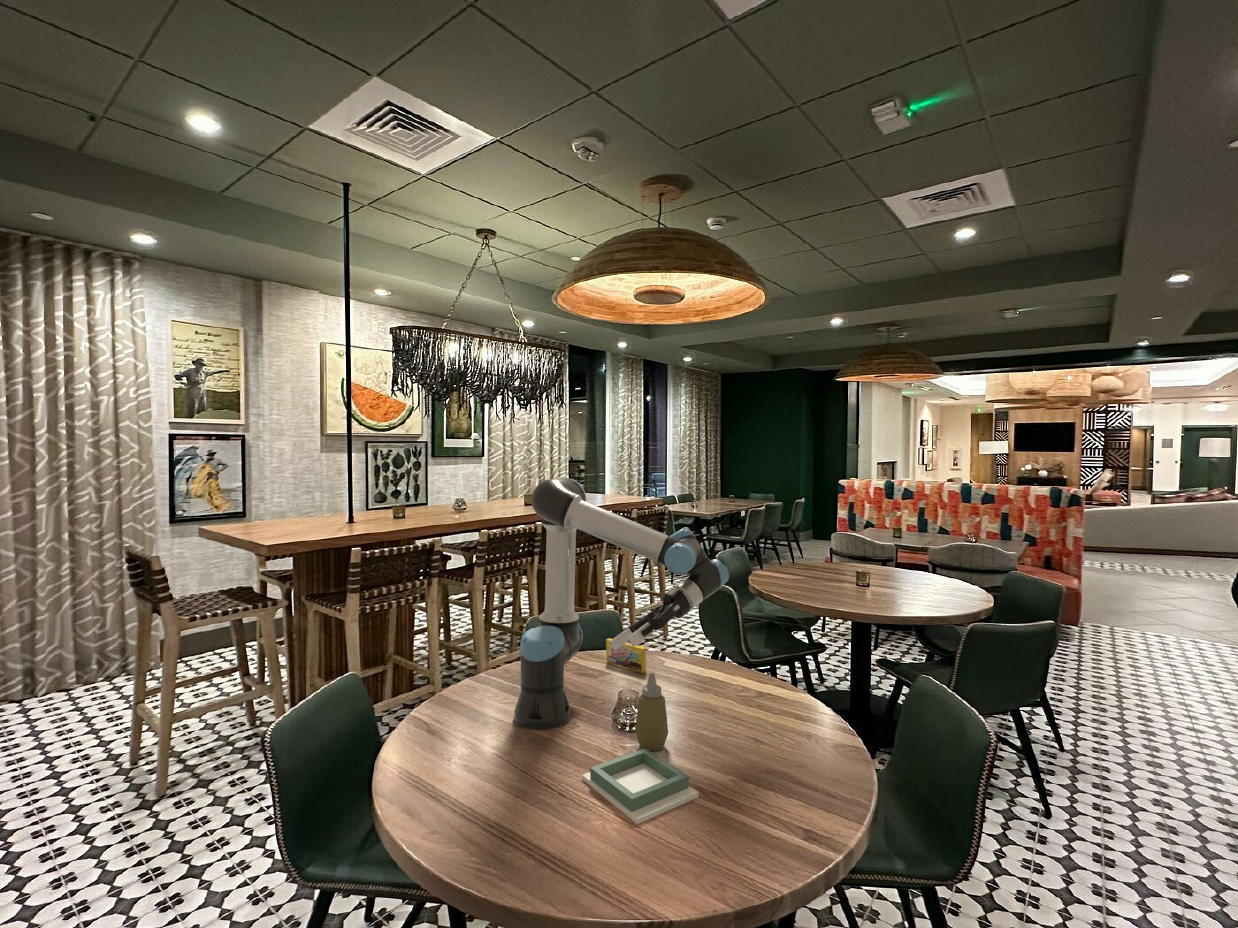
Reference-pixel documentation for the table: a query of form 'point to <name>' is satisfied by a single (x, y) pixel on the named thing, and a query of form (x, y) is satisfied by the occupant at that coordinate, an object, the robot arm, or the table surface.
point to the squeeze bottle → (651, 717)
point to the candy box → (627, 656)
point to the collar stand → (641, 784)
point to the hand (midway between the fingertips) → (621, 644)
